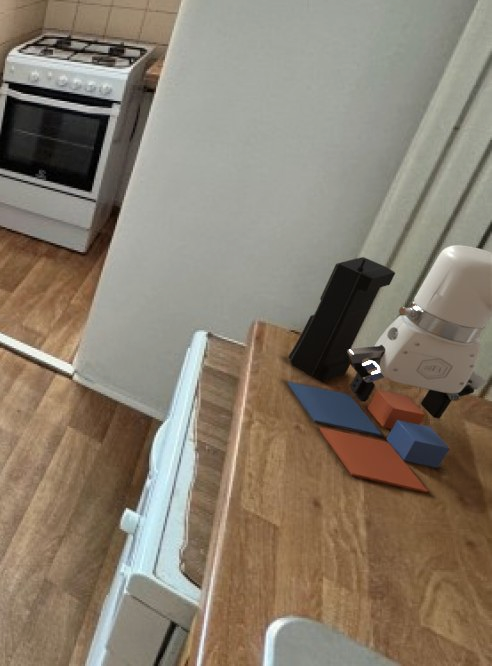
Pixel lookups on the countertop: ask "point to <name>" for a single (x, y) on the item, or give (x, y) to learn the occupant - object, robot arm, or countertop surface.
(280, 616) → the countertop surface
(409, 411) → the terracotta block
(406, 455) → the slate block
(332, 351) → the tall black tower box
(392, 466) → the terracotta mat
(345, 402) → the slate mat
